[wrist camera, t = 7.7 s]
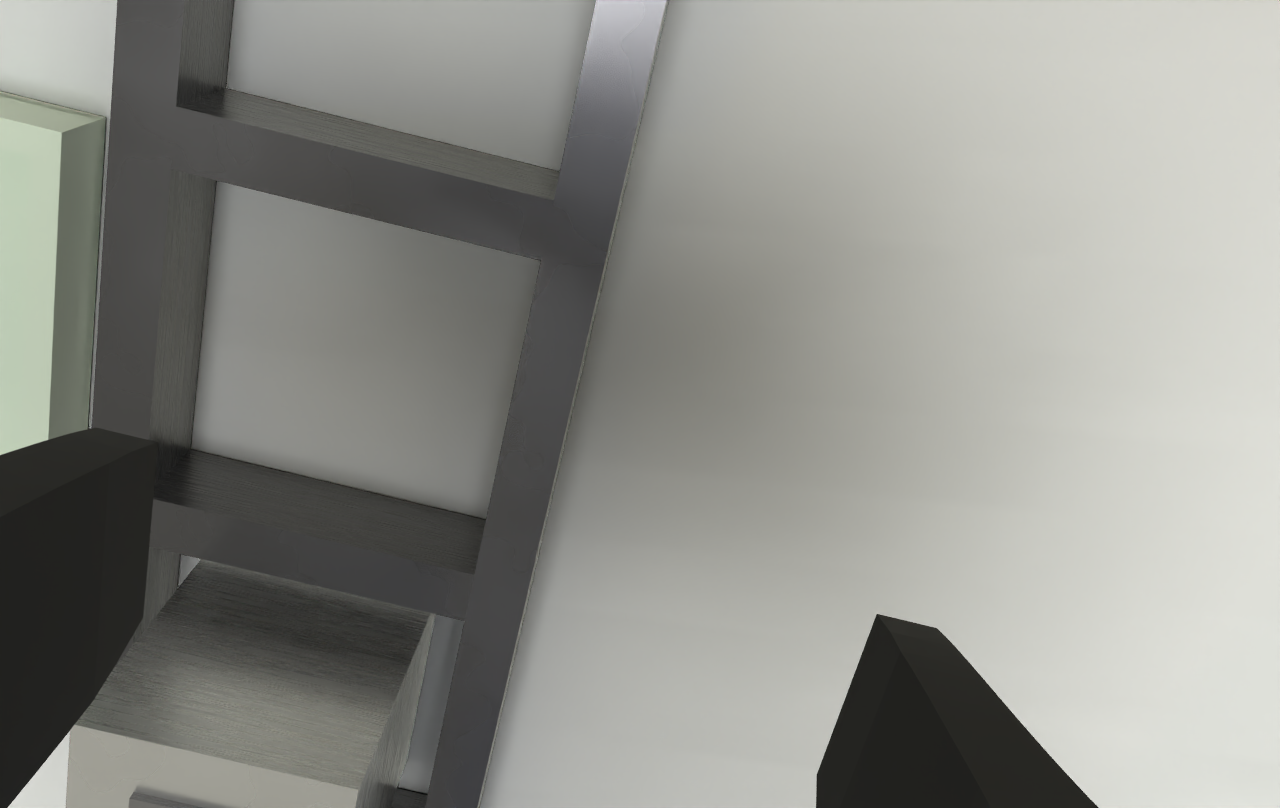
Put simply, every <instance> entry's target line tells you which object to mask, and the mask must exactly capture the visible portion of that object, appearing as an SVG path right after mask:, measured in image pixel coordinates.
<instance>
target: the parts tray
mask: <svg viewBox="0 0 1280 808" xmlns="http://www.w3.org/2000/svg"><path fill="white" fill-rule="evenodd" d="M105 123H106V117H102V116H98V115H94V114H90V113H86V112H82V111H78V110H74V109H70V108H66V107H62V106H58V105H54V104H50V103H46V102H42V101H38V100H34V99H30V98H26V97H22V96H18V95H14V94H10V93H5V92H1V91H0V455H2V454H5V453H8V452H11V451H14V450H17V449H20V448H24V447H27V446H30V445H33V444H36V443H39V442H43V441H46V440H49V439H52V438H56V437H59V436H63V435H66V434H70V433H74V432H78V431H82V430H87V429H88V415H89V397H90V380H91V363H92V346H93V329H94V312H95V294H96V277H97V260H98V243H99V226H100V209H101V191H102V174H103V157H104V140H105Z"/></svg>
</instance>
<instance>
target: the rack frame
mask: <svg viewBox="0 0 1280 808" xmlns="http://www.w3.org/2000/svg"><path fill="white" fill-rule="evenodd" d="M233 3H234V0H118V1H117V18H116V34H115V51H114V68H113V85H112V101H111V118H110V135H109V151H108V168H107V185H106V202H105V218H104V235H103V252H102V268H101V285H100V302H99V319H98V335H97V352H96V369H95V385H94V402H93V419H92V428H100V429H105V430H109V431H113V432H117V433H121V434H126V435H130V436H134V437H138V438H142V439H146V440H151V441H155V442H158V448H157V460H156V472H155V484H154V496H153V508H152V519H151V531H150V543H149V555H148V567H147V579H146V590H145V602H144V614H143V619H142V621H141V622H140V624H139V626H138V627H137V629H136V631H135V633H134V634H133V636H132V638H131V639H130V641H129V643H128V645H127V646H126V648H125V650H124V652H123V653H122V655H121V657H120V658H119V660H118V662H117V664H116V665H115V667H116V666H117V665H118V663H119V662H120V661H121V660H122V658H123V657H124V656H125V655H126V653H127V652H128V651H129V650H130V648H131V647H132V646H133V644H134V643H135V642H136V641H137V639H138V638H139V637H140V636H141V634H142V633H143V632H144V631H145V629H146V628H147V627H148V626H149V624H150V623H151V622H152V621H153V619H154V618H155V617H156V615H157V614H158V613H159V612H160V610H161V609H162V608H163V607H164V605H165V604H166V603H167V602H168V600H169V599H170V598H171V597H172V595H173V594H174V593H175V592H176V590H177V582H178V571H179V561H180V554H183V555H187V556H191V557H196V558H200V559H204V560H208V561H213V562H217V563H221V564H225V565H230V566H234V567H238V568H242V569H246V570H251V571H255V572H259V573H263V574H268V575H272V576H276V577H280V578H285V579H289V580H293V581H297V582H302V583H306V584H310V585H314V586H319V587H323V588H327V589H331V590H336V591H340V592H344V593H348V594H353V595H357V596H361V597H365V598H369V599H374V600H378V601H382V602H386V603H391V604H395V605H399V606H403V607H408V608H412V609H416V610H420V611H425V612H429V613H433V614H437V615H442V616H446V617H450V618H454V619H459V620H463V621H465V622H464V626H463V631H462V636H461V641H460V645H459V650H458V655H457V659H456V664H455V669H454V674H453V678H452V683H451V688H450V692H449V697H448V702H447V707H446V711H445V716H444V721H443V726H442V730H441V735H440V740H439V744H438V749H437V754H436V759H435V763H434V768H433V773H432V777H431V782H430V787H429V792H428V795H424V794H420V793H415V792H411V791H407V790H402V789H398V788H397V789H396V792H395V795H394V798H393V800H392V803H391V806H390V808H479V807H480V803H481V799H482V795H483V790H484V786H485V782H486V778H487V773H488V769H489V765H490V761H491V756H492V752H493V748H494V744H495V739H496V735H497V731H498V727H499V722H500V718H501V714H502V710H503V705H504V701H505V697H506V693H507V688H508V684H509V680H510V676H511V671H512V667H513V663H514V659H515V654H516V650H517V646H518V642H519V637H520V633H521V629H522V625H523V620H524V616H525V612H526V608H527V603H528V599H529V595H530V591H531V586H532V582H533V578H534V574H535V569H536V565H537V561H538V557H539V552H540V548H541V544H542V539H543V535H544V531H545V527H546V522H547V518H548V514H549V510H550V505H551V501H552V497H553V493H554V488H555V484H556V480H557V476H558V471H559V467H560V463H561V459H562V454H563V450H564V446H565V442H566V437H567V433H568V429H569V425H570V420H571V416H572V412H573V408H574V403H575V399H576V395H577V391H578V386H579V382H580V378H581V374H582V369H583V365H584V361H585V357H586V352H587V348H588V344H589V340H590V335H591V331H592V327H593V323H594V318H595V314H596V310H597V306H598V301H599V297H600V293H601V289H602V284H603V280H604V276H605V272H606V267H607V263H608V259H609V255H610V250H611V246H612V242H613V238H614V233H615V229H616V225H617V221H618V216H619V212H620V208H621V204H622V199H623V195H624V191H625V187H626V182H627V178H628V174H629V169H630V165H631V161H632V157H633V152H634V148H635V144H636V140H637V135H638V131H639V127H640V123H641V118H642V114H643V110H644V106H645V101H646V97H647V93H648V89H649V84H650V80H651V76H652V72H653V67H654V63H655V59H656V55H657V50H658V46H659V42H660V38H661V33H662V29H663V25H664V21H665V16H666V12H667V8H668V4H669V0H596V3H595V8H594V13H593V18H592V22H591V27H590V32H589V37H588V41H587V46H586V51H585V55H584V60H583V65H582V70H581V74H580V79H579V84H578V88H577V93H576V98H575V103H574V107H573V112H572V117H571V121H570V126H569V131H568V136H567V140H566V145H565V150H564V154H563V159H562V164H561V169H560V172H558V171H554V170H550V169H546V168H542V167H538V166H534V165H530V164H526V163H522V162H518V161H514V160H510V159H506V158H502V157H498V156H494V155H490V154H486V153H482V152H478V151H474V150H470V149H466V148H462V147H458V146H454V145H450V144H446V143H442V142H438V141H434V140H430V139H426V138H422V137H418V136H414V135H410V134H406V133H402V132H398V131H394V130H390V129H386V128H382V127H378V126H374V125H370V124H366V123H362V122H358V121H354V120H350V119H346V118H342V117H338V116H334V115H330V114H326V113H322V112H318V111H314V110H310V109H306V108H302V107H298V106H294V105H290V104H286V103H282V102H278V101H274V100H270V99H266V98H262V97H258V96H254V95H250V94H246V93H242V92H238V91H234V90H230V89H226V88H225V85H226V75H227V65H228V54H229V44H230V34H231V23H232V13H233ZM216 180H217V181H221V182H225V183H229V184H233V185H237V186H241V187H245V188H249V189H253V190H257V191H261V192H266V193H270V194H274V195H278V196H282V197H286V198H290V199H294V200H298V201H302V202H306V203H310V204H314V205H318V206H322V207H326V208H330V209H334V210H338V211H342V212H346V213H351V214H355V215H359V216H363V217H367V218H371V219H375V220H379V221H383V222H387V223H391V224H395V225H399V226H403V227H407V228H411V229H415V230H419V231H423V232H427V233H431V234H436V235H440V236H444V237H448V238H452V239H456V240H460V241H464V242H468V243H472V244H476V245H480V246H484V247H488V248H492V249H496V250H500V251H504V252H508V253H512V254H516V255H521V256H525V257H529V258H533V259H537V260H541V263H540V268H539V272H538V277H537V282H536V287H535V291H534V296H533V301H532V306H531V310H530V315H529V320H528V324H527V329H526V334H525V339H524V343H523V348H522V353H521V357H520V362H519V367H518V372H517V376H516V381H515V386H514V390H513V395H512V400H511V405H510V409H509V414H508V419H507V423H506V428H505V433H504V438H503V442H502V447H501V452H500V457H499V461H498V466H497V471H496V475H495V480H494V485H493V490H492V494H491V499H490V504H489V508H488V513H487V518H486V520H484V519H479V518H475V517H471V516H467V515H463V514H458V513H454V512H450V511H446V510H442V509H438V508H433V507H429V506H425V505H421V504H417V503H412V502H408V501H404V500H400V499H396V498H391V497H387V496H383V495H379V494H375V493H371V492H366V491H362V490H358V489H354V488H350V487H345V486H341V485H337V484H333V483H329V482H325V481H320V480H316V479H312V478H308V477H304V476H299V475H295V474H291V473H287V472H283V471H278V470H274V469H270V468H266V467H262V466H258V465H253V464H249V463H245V462H241V461H237V460H232V459H228V458H224V457H220V456H216V455H211V454H207V453H203V452H199V451H195V450H191V449H190V447H191V437H192V426H193V416H194V406H195V395H196V385H197V375H198V364H199V354H200V344H201V333H202V323H203V313H204V302H205V292H206V282H207V271H208V261H209V251H210V240H211V230H212V220H213V209H214V199H215V189H216ZM115 667H114V668H115ZM114 668H113V670H114ZM113 670H112V671H113Z"/></svg>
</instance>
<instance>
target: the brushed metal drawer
mask: <svg viewBox="0 0 1280 808" xmlns="http://www.w3.org/2000/svg"><path fill="white" fill-rule="evenodd" d="M435 617H436V614H433V613H429V612H425V611H420V610H416V609H412V608H408V607H403V606H399V605H395V604H391V603H386V602H382V601H378V600H374V599H369V598H365V597H361V596H357V595H353V594H348V593H344V592H340V591H336V590H331V589H327V588H323V587H319V586H314V585H310V584H306V583H302V582H297V581H293V580H289V579H285V578H280V577H276V576H272V575H268V574H263V573H259V572H255V571H251V570H246V569H242V568H238V567H234V566H230V565H225V564H221V563H217V562H213V561H208V560H204V559H201V560H200V561H199V563H198V564H197V565H196V566H195V568H194V569H193V570H192V571H191V573H190V574H189V575H188V576H187V578H186V579H185V580H184V581H183V583H182V584H181V585H180V586H179V588H178V589H177V590H176V592H175V593H174V594H173V595H172V597H171V598H170V599H169V600H168V602H167V603H166V604H165V605H164V607H163V608H162V609H161V610H160V612H159V613H158V614H157V615H156V617H155V618H154V619H153V621H152V622H151V623H150V624H149V626H148V627H147V628H146V629H145V631H144V632H143V633H142V634H141V636H140V637H139V638H138V639H137V641H136V642H135V643H134V644H133V646H132V647H131V648H130V650H129V651H128V652H127V653H126V655H125V656H124V657H123V658H122V660H121V661H120V662H119V663H118V665H117V666H116V667H115V668H114V670H113V671H112V672H111V673H110V675H109V676H108V678H107V680H106V681H105V683H104V684H103V686H102V688H101V689H100V691H99V692H98V694H97V696H96V697H95V699H94V700H93V702H92V703H91V704H90V706H89V707H88V708H87V709H86V711H85V712H84V713H83V715H82V716H81V717H80V718H79V720H78V721H77V722H76V723H75V725H74V726H73V727H72V728H71V730H70V742H69V759H68V777H67V795H66V808H390V806H391V803H392V800H393V798H394V795H395V792H396V789H397V787H398V784H399V781H400V778H401V776H402V773H403V770H404V767H405V765H406V762H407V758H408V753H409V748H410V743H411V738H412V733H413V728H414V723H415V718H416V713H417V708H418V703H419V698H420V693H421V687H422V682H423V677H424V672H425V667H426V662H427V657H428V652H429V647H430V642H431V637H432V632H433V627H434V622H435Z"/></svg>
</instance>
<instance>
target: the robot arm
mask: <svg viewBox="0 0 1280 808" xmlns="http://www.w3.org/2000/svg"><path fill="white" fill-rule="evenodd" d="M157 448H158V442H155V441H151V440H146V439H142V438H138V437H134V436H130V435H126V434H121V433H117V432H113V431H109V430H105V429H100V428H91V429H87V430H82V431H78V432H74V433H70V434H66V435H63V436H59V437H56V438H52V439H49V440H46V441H43V442H39V443H36V444H33V445H30V446H27V447H24V448H20V449H17V450H14V451H11V452H8V453H5V454H2V455H0V808H7V807H8V806H9V805H10V804H11V803H12V801H13V800H14V799H15V798H16V796H17V795H18V794H19V793H20V792H21V790H22V789H23V788H24V787H25V785H26V784H27V783H28V782H29V781H30V779H31V778H32V777H33V776H34V774H35V773H36V772H37V771H38V770H39V768H40V767H41V766H42V765H43V763H44V762H45V761H46V760H47V758H48V757H49V756H50V755H51V753H52V752H53V751H54V750H55V748H56V747H57V746H58V745H59V743H60V742H61V741H62V740H63V738H64V737H65V736H66V735H67V733H68V732H69V731H70V730H71V728H72V727H73V726H74V725H75V723H76V722H77V721H78V720H79V718H80V717H81V716H82V715H83V713H84V712H85V711H86V709H87V708H88V707H89V706H90V704H91V703H92V702H93V700H94V699H95V697H96V696H97V694H98V692H99V691H100V689H101V688H102V686H103V684H104V683H105V681H106V680H107V678H108V676H109V675H110V673H111V672H112V670H113V668H114V667H115V665H116V664H117V662H118V660H119V658H120V657H121V655H122V653H123V652H124V650H125V648H126V646H127V645H128V643H129V641H130V639H131V638H132V636H133V634H134V633H135V631H136V629H137V627H138V626H139V624H140V622H141V621H142V619H143V614H144V602H145V590H146V579H147V567H148V555H149V543H150V531H151V519H152V508H153V496H154V484H155V472H156V460H157ZM816 808H1098V807H1097V806H1096V805H1095V804H1094V803H1093V802H1092V801H1091V800H1090V799H1089V798H1088V797H1087V795H1086V794H1085V793H1084V792H1083V791H1082V790H1081V789H1080V788H1079V787H1078V786H1077V785H1076V784H1075V783H1074V782H1073V780H1072V779H1071V778H1070V777H1069V776H1068V775H1067V774H1066V773H1065V772H1064V771H1063V770H1062V769H1061V767H1060V766H1059V765H1058V764H1057V763H1056V762H1055V761H1054V760H1053V759H1052V758H1051V756H1050V755H1049V754H1048V753H1047V752H1046V751H1045V750H1044V749H1043V747H1042V746H1041V745H1040V744H1039V743H1038V742H1037V741H1036V740H1035V738H1034V737H1033V736H1032V735H1031V734H1030V733H1029V732H1028V730H1027V729H1026V728H1025V727H1024V726H1023V725H1022V724H1021V722H1020V721H1019V720H1018V719H1017V718H1016V717H1015V715H1014V714H1013V713H1012V712H1011V711H1010V710H1009V709H1008V707H1007V706H1006V705H1005V704H1004V703H1003V702H1002V700H1001V699H1000V698H999V697H998V696H997V695H996V693H995V692H994V691H993V690H992V689H991V688H990V686H989V685H988V684H987V683H986V682H985V680H984V679H983V678H982V677H981V676H980V675H979V674H978V672H977V671H976V670H975V669H974V668H973V667H972V665H971V664H970V663H969V662H968V661H967V660H966V659H965V657H964V656H963V655H962V654H961V653H960V652H959V651H958V650H957V648H956V647H955V646H954V645H953V644H952V643H951V642H950V641H949V640H948V639H947V638H946V637H945V636H944V635H943V634H942V633H941V632H940V631H939V630H938V629H937V628H934V627H929V626H925V625H921V624H917V623H913V622H908V621H904V620H900V619H896V618H892V617H887V616H883V615H879V614H877V615H876V618H875V621H874V623H873V626H872V629H871V631H870V634H869V637H868V639H867V642H866V645H865V647H864V650H863V653H862V655H861V658H860V661H859V663H858V666H857V669H856V671H855V674H854V677H853V679H852V682H851V685H850V687H849V690H848V693H847V696H846V698H845V701H844V704H843V706H842V709H841V712H840V714H839V717H838V720H837V722H836V725H835V728H834V730H833V733H832V736H831V738H830V741H829V744H828V746H827V749H826V752H825V754H824V757H823V760H822V762H821V765H820V768H819V770H818V773H817V797H816Z"/></svg>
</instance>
